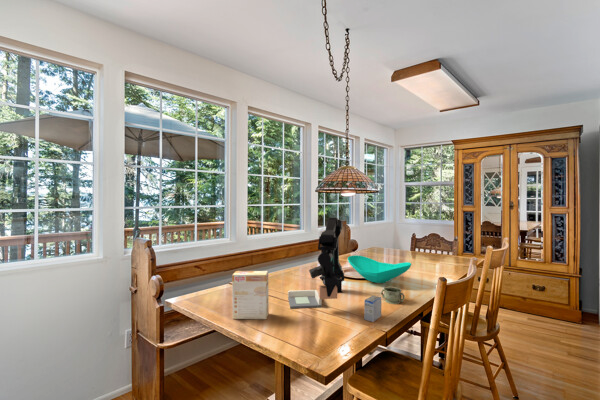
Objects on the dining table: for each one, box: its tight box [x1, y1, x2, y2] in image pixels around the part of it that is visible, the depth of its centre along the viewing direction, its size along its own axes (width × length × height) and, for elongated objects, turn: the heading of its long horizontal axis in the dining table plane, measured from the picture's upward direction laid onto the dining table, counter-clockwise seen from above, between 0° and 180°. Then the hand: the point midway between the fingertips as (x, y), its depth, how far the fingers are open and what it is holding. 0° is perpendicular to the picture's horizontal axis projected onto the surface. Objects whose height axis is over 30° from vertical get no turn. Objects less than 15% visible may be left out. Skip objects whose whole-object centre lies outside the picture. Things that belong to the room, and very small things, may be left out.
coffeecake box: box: [231, 270, 270, 320], centre depth 137 cm, size 15×7×20 cm, turn 88°
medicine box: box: [363, 295, 382, 323], centre depth 135 cm, size 8×4×9 cm, turn 141°
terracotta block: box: [317, 284, 338, 300], centre depth 142 cm, size 8×4×5 cm, turn 95°
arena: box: [287, 289, 323, 310], centre depth 153 cm, size 15×14×4 cm
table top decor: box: [347, 255, 412, 284], centre depth 190 cm, size 40×28×13 cm
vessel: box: [381, 286, 405, 305], centre depth 155 cm, size 12×9×6 cm
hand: (327, 294), depth 142 cm, fingers closed on terracotta block, 4 cm apart
